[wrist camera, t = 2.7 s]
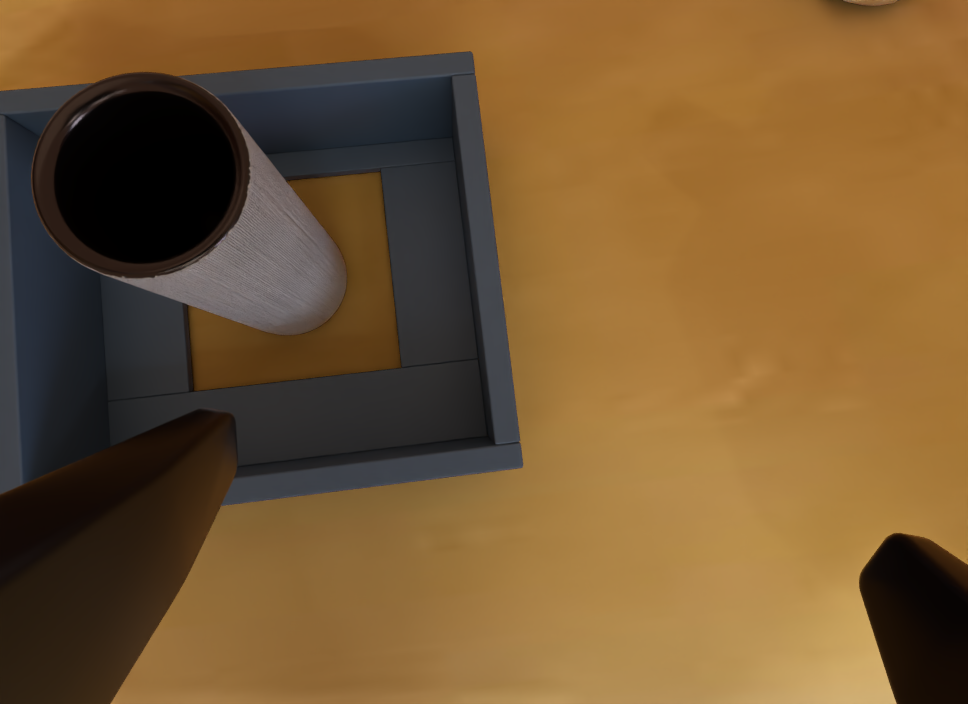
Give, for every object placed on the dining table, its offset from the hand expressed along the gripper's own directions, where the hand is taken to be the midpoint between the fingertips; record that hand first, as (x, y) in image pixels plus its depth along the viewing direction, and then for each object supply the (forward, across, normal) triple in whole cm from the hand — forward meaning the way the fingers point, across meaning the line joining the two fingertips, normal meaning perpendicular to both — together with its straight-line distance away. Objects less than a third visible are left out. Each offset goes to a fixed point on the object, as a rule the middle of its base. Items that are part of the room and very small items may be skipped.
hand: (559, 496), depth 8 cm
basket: (+14, +9, +5) cm, 17 cm away
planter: (+14, +9, +4) cm, 18 cm away
